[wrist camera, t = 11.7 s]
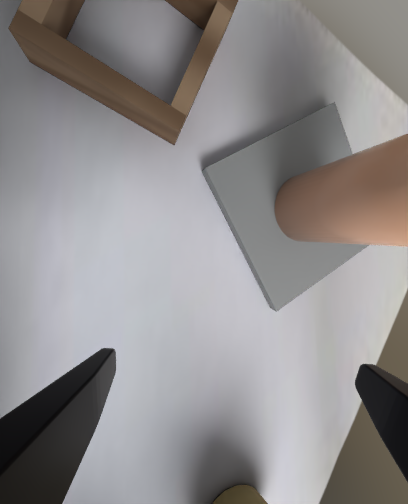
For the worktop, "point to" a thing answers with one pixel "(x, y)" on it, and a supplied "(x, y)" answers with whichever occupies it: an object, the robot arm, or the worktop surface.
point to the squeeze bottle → (240, 496)
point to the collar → (108, 80)
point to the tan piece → (350, 199)
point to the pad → (263, 203)
